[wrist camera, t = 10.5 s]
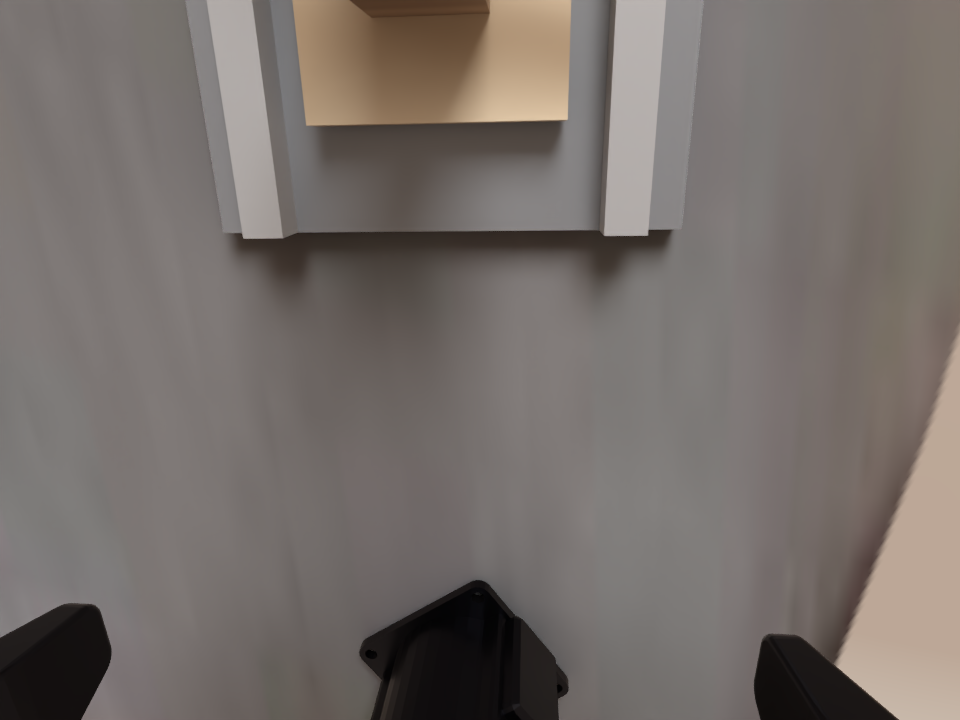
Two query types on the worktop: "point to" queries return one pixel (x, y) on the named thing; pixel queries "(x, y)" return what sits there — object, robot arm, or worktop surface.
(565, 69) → the wooden sled with post
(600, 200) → the guide board
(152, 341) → the worktop surface
